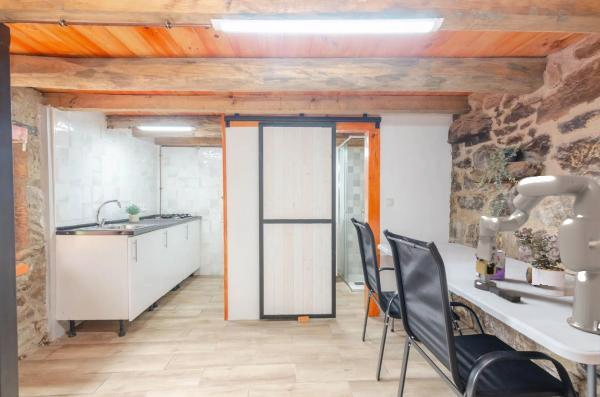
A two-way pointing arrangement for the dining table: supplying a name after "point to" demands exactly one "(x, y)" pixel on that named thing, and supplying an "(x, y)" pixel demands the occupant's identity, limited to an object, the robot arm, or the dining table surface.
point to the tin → (529, 275)
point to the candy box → (497, 267)
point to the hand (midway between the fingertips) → (485, 271)
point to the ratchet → (495, 289)
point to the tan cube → (483, 267)
